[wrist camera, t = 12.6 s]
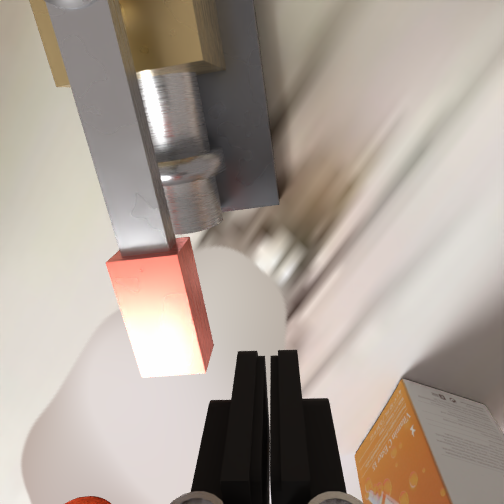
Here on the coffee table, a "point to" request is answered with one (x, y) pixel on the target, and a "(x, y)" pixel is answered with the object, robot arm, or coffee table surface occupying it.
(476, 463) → the small box
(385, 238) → the coffee table surface
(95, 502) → the clementine
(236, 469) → the robot arm
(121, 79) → the valve lever
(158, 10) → the valve body
